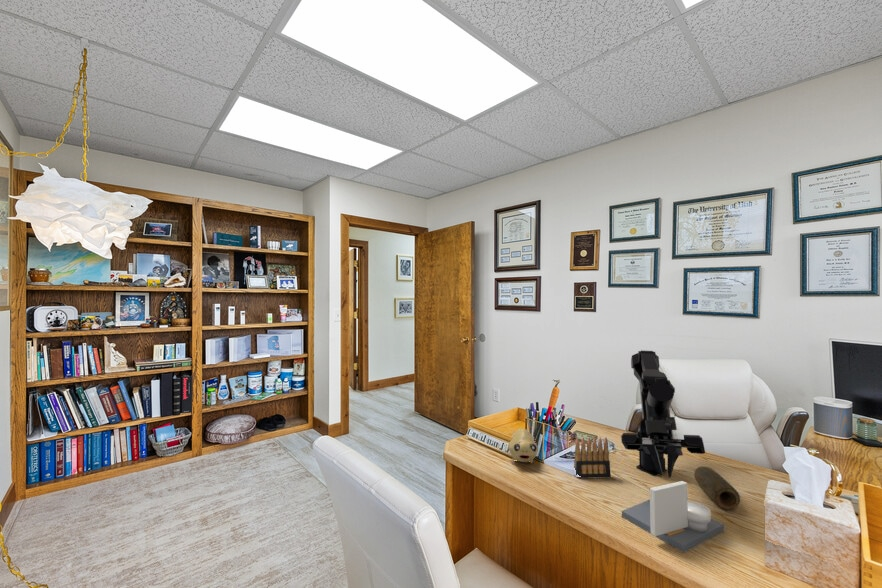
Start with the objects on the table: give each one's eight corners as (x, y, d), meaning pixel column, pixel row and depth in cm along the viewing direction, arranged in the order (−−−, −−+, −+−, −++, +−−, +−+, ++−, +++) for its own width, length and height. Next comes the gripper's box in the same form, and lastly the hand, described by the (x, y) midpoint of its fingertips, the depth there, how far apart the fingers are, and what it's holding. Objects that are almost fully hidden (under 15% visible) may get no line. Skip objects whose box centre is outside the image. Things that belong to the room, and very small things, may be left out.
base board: (621, 516, 94) (621, 502, 94) (661, 500, 101) (660, 487, 101) (683, 552, 80) (683, 536, 80) (724, 530, 88) (723, 515, 88)
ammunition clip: (608, 474, 116) (607, 436, 116) (610, 477, 114) (610, 438, 114) (573, 475, 116) (573, 436, 116) (576, 478, 114) (575, 438, 114)
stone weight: (747, 515, 94) (746, 488, 94) (716, 512, 95) (715, 485, 96) (715, 485, 109) (715, 462, 109) (689, 483, 110) (688, 460, 110)
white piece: (691, 512, 91) (690, 471, 92) (717, 527, 85) (717, 484, 86) (640, 526, 86) (640, 482, 86) (665, 543, 80) (664, 496, 80)
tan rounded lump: (510, 469, 120) (509, 436, 120) (507, 454, 132) (507, 424, 132) (541, 471, 119) (540, 437, 119) (535, 455, 131) (535, 424, 131)
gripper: (615, 404, 104) (618, 463, 95) (695, 404, 94) (707, 469, 84) (624, 421, 110) (627, 477, 101) (699, 422, 100) (711, 484, 91)
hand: (665, 476), depth 94 cm, fingers closed
